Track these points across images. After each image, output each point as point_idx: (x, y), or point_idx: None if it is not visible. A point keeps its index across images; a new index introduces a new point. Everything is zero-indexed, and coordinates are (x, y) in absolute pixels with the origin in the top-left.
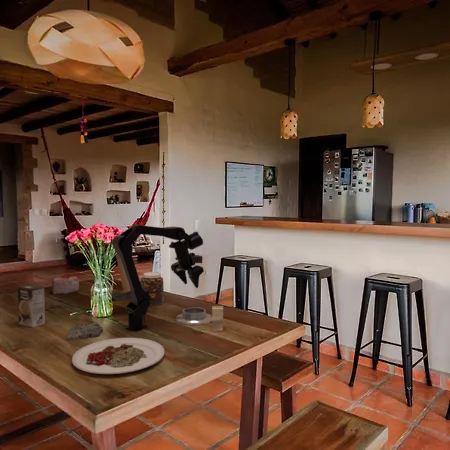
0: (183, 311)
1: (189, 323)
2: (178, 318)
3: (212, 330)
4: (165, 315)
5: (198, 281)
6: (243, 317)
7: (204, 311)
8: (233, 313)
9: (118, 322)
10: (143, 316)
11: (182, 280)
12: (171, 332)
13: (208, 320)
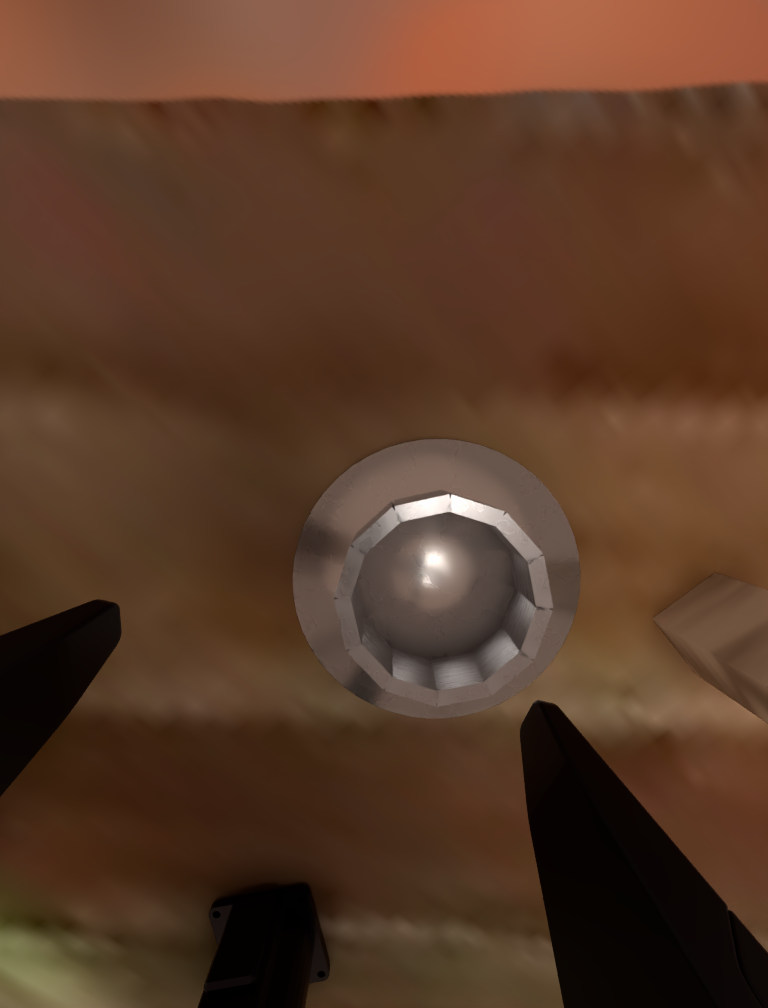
0: (388, 682)
1: (501, 699)
2: (365, 681)
3: (698, 673)
4: (197, 645)
5: (690, 873)
6: (712, 274)
7: (536, 563)
8: (578, 237)
9: (96, 935)
10: (267, 988)
11: (18, 772)
12: (505, 857)
13: (578, 572)
